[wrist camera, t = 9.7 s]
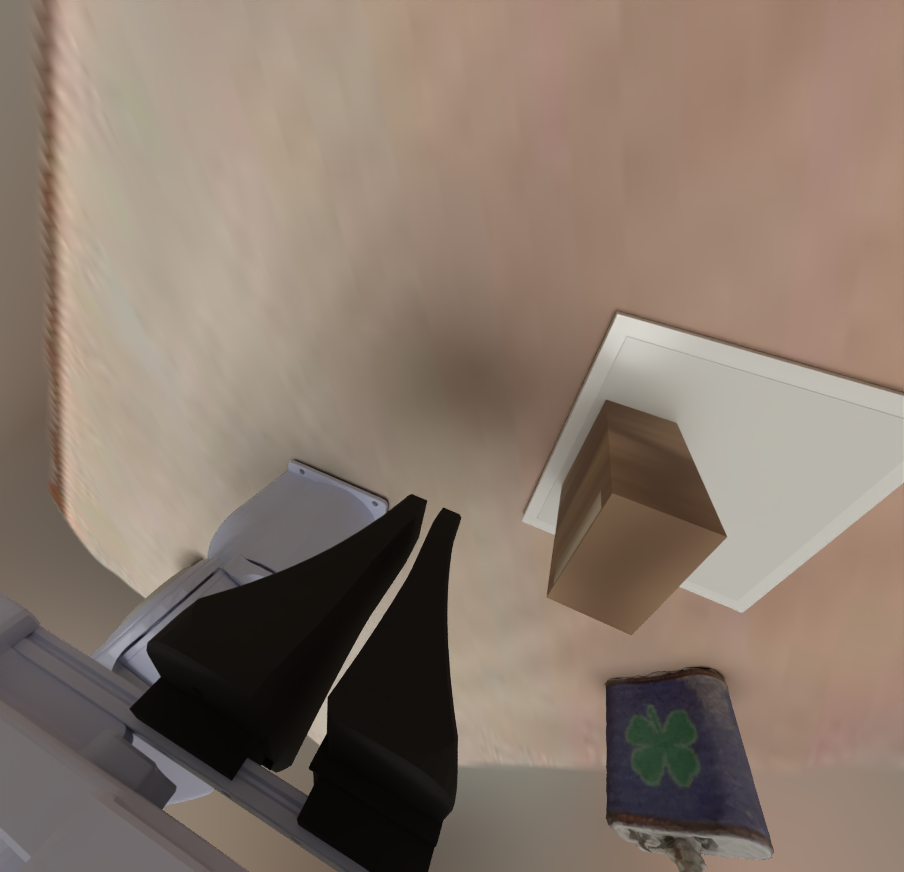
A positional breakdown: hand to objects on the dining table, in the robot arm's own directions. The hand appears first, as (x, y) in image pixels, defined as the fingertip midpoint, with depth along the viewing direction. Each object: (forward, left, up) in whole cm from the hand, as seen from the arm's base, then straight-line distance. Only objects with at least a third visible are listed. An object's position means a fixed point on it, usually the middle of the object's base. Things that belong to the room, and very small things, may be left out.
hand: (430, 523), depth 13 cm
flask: (+19, -18, -11) cm, 28 cm away
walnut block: (+7, 0, -10) cm, 12 cm away
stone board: (+11, 0, -10) cm, 15 cm away
